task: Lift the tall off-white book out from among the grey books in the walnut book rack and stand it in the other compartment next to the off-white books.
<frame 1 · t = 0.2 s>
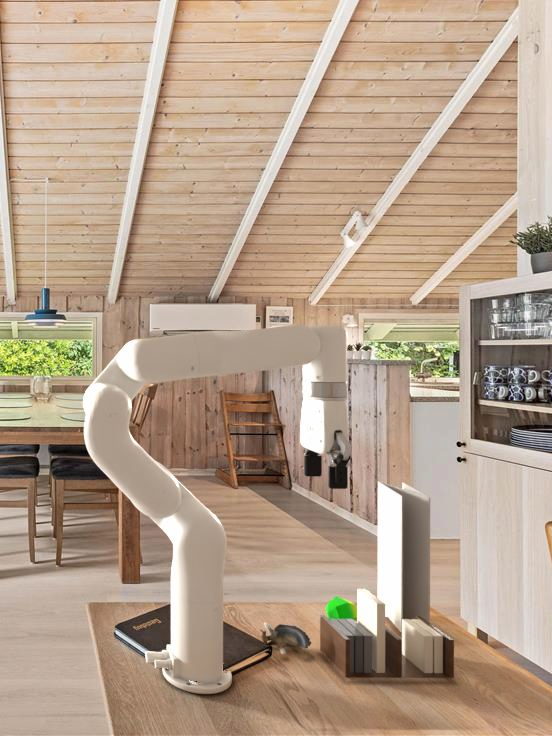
hand: (324, 482, 117), 37 cm above the table, tool pointing down, fingers open, 9 cm apart
book rack: (384, 668, 120), on the table
grey books: (349, 645, 120), point 4 cm above the table
apple: (346, 626, 138), on the table
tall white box: (402, 624, 139), on the table
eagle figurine: (285, 655, 125), on the table
white book: (370, 663, 120), point 1 cm above the table, touching book rack
white books: (421, 645, 120), point 4 cm above the table
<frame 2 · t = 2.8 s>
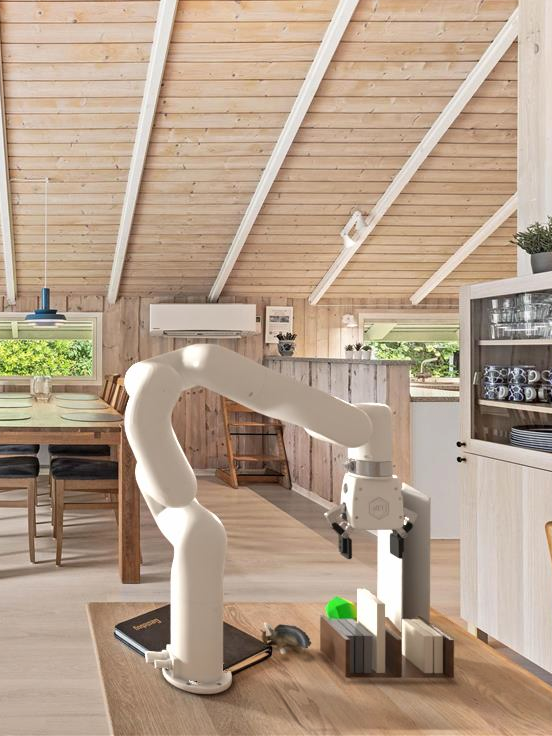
hand: (371, 556, 120), 22 cm above the table, tool pointing down, fingers open, 9 cm apart
nothing on the table moved.
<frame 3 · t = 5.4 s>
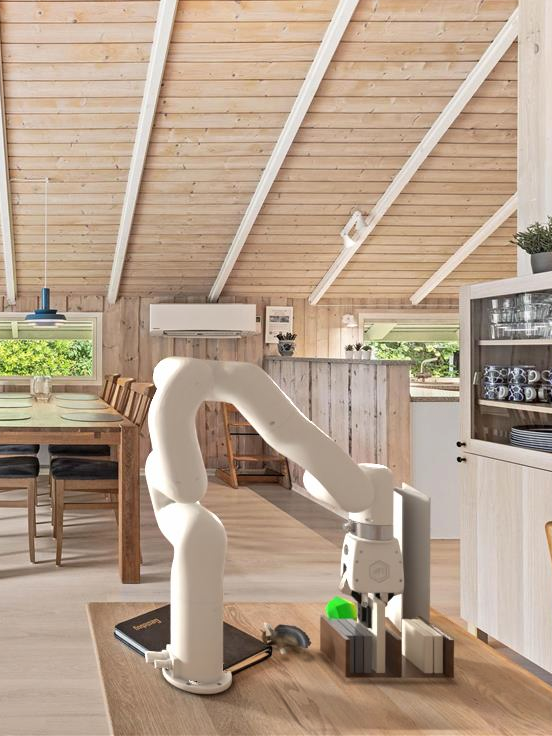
hand: (370, 624, 120), 9 cm above the table, tool pointing down, fingers closed on white book, 1 cm apart
white book: (370, 663, 120), point 1 cm above the table, touching book rack, gripper
everything else where it was.
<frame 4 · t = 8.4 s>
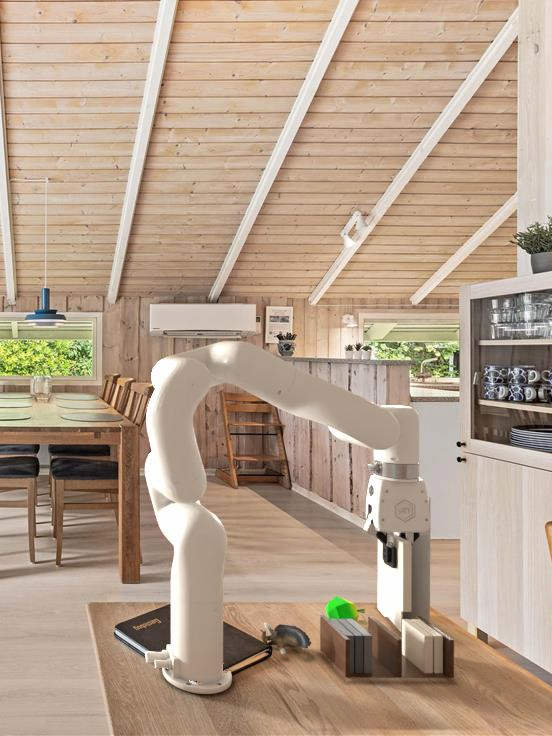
hand: (396, 565, 120), 20 cm above the table, tool pointing down, fingers closed on white book
white book: (396, 604, 120), point 12 cm above the table, touching gripper
everything else where it was.
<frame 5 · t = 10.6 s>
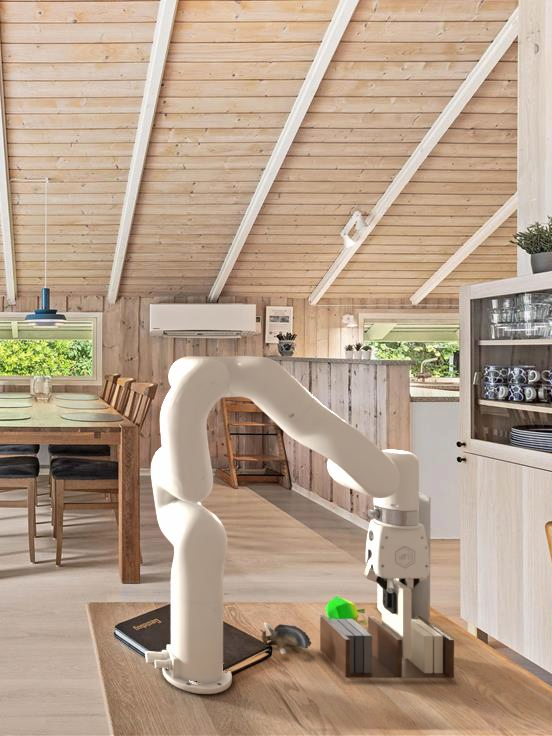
hand: (396, 610, 120), 11 cm above the table, tool pointing down, fingers closed on white book
white book: (396, 649, 120), point 4 cm above the table, touching gripper
everything else where it was.
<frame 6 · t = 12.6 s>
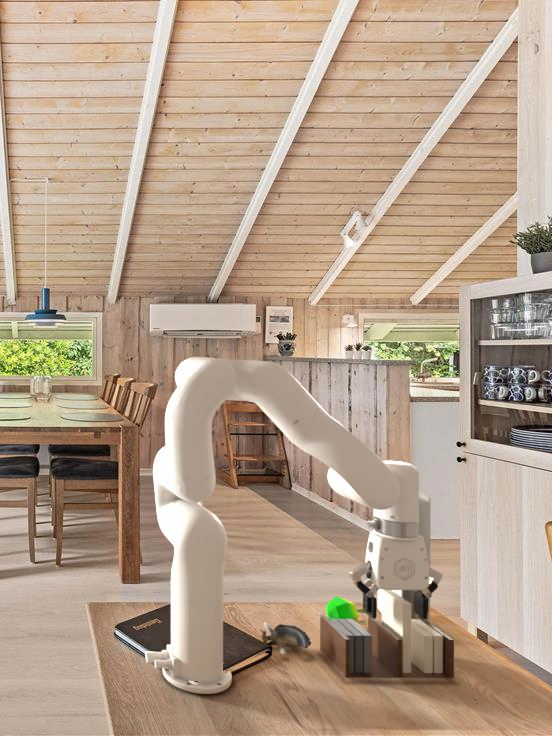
hand: (395, 615, 120), 10 cm above the table, tool pointing down, fingers open, 9 cm apart
white book: (395, 663, 120), point 1 cm above the table, touching book rack
everything else where it was.
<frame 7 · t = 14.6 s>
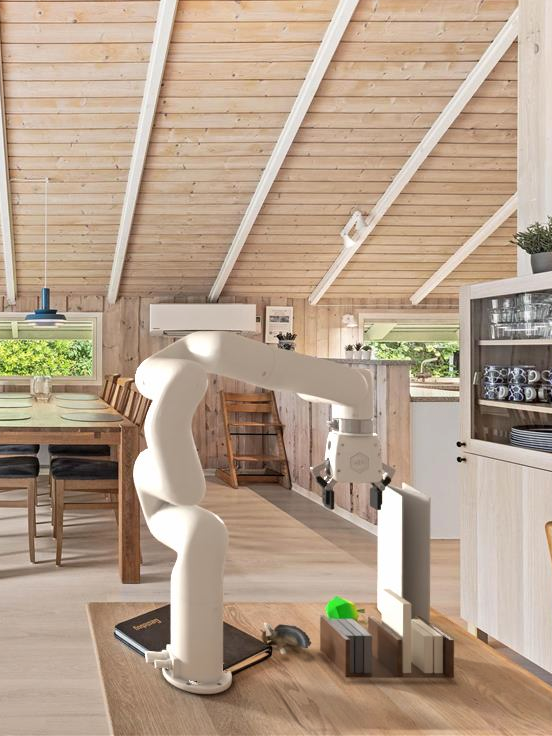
hand: (352, 508, 130), 28 cm above the table, tool pointing down, fingers open, 9 cm apart
nothing on the table moved.
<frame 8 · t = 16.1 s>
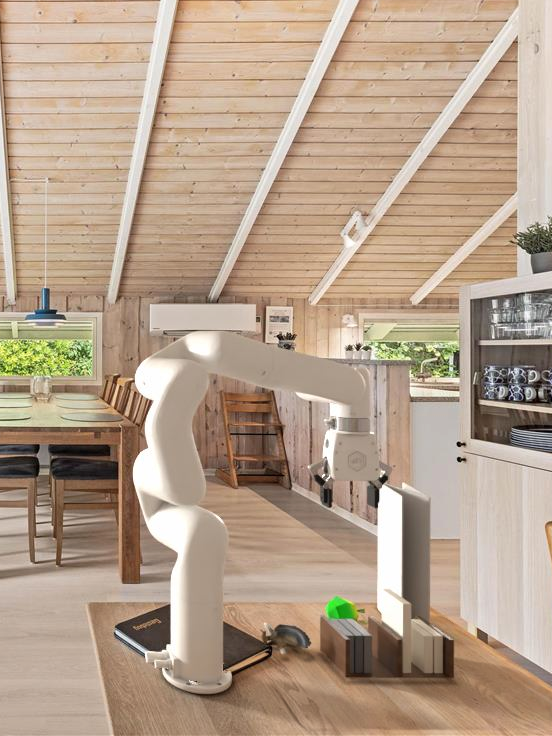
hand: (349, 506, 131), 28 cm above the table, tool pointing down, fingers open, 9 cm apart
nothing on the table moved.
at the end: white book 0.7 cm from the target spot on the book rack, point 1.0 cm above the book rack's base; white book tilted 0°; the gripper is holding nothing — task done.
